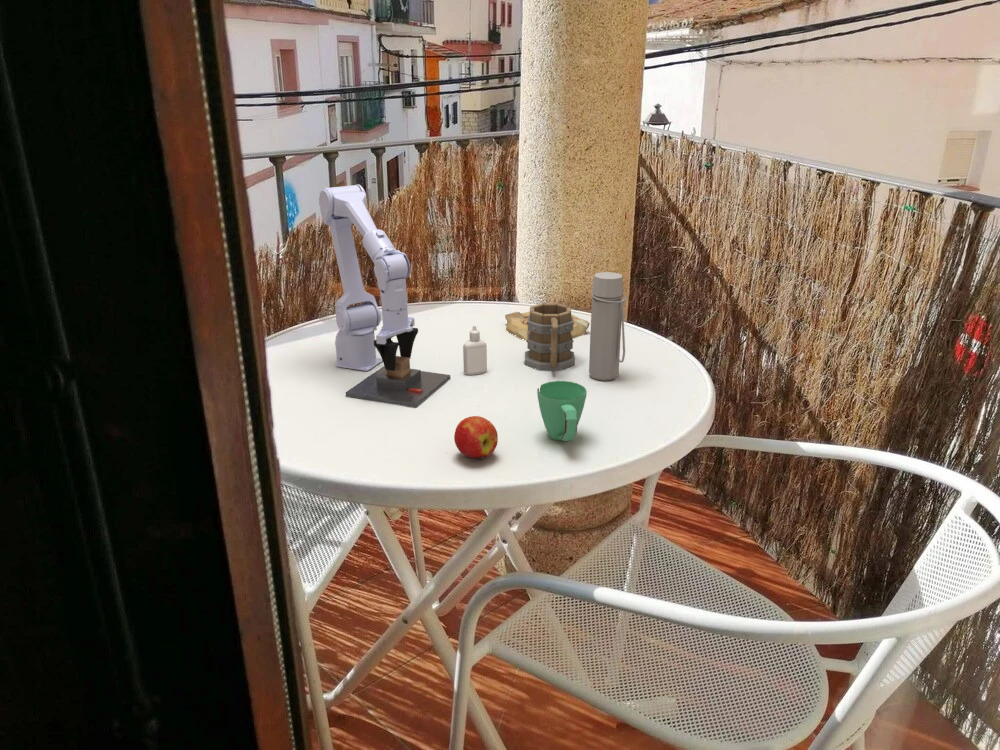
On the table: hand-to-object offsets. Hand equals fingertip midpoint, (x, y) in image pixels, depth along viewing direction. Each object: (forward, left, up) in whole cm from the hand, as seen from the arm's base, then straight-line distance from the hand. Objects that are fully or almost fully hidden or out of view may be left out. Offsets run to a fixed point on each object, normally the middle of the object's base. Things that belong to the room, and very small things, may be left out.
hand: (398, 364), depth 176 cm
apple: (+30, -25, -6) cm, 39 cm away
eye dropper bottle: (+13, +15, -6) cm, 21 cm away
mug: (+44, -13, -6) cm, 46 cm away
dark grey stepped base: (0, 0, -6) cm, 6 cm away
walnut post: (0, 0, -5) cm, 5 cm away
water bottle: (+44, +23, -6) cm, 50 cm away
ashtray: (+19, +53, -7) cm, 57 cm away
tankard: (+29, +25, -6) cm, 39 cm away
